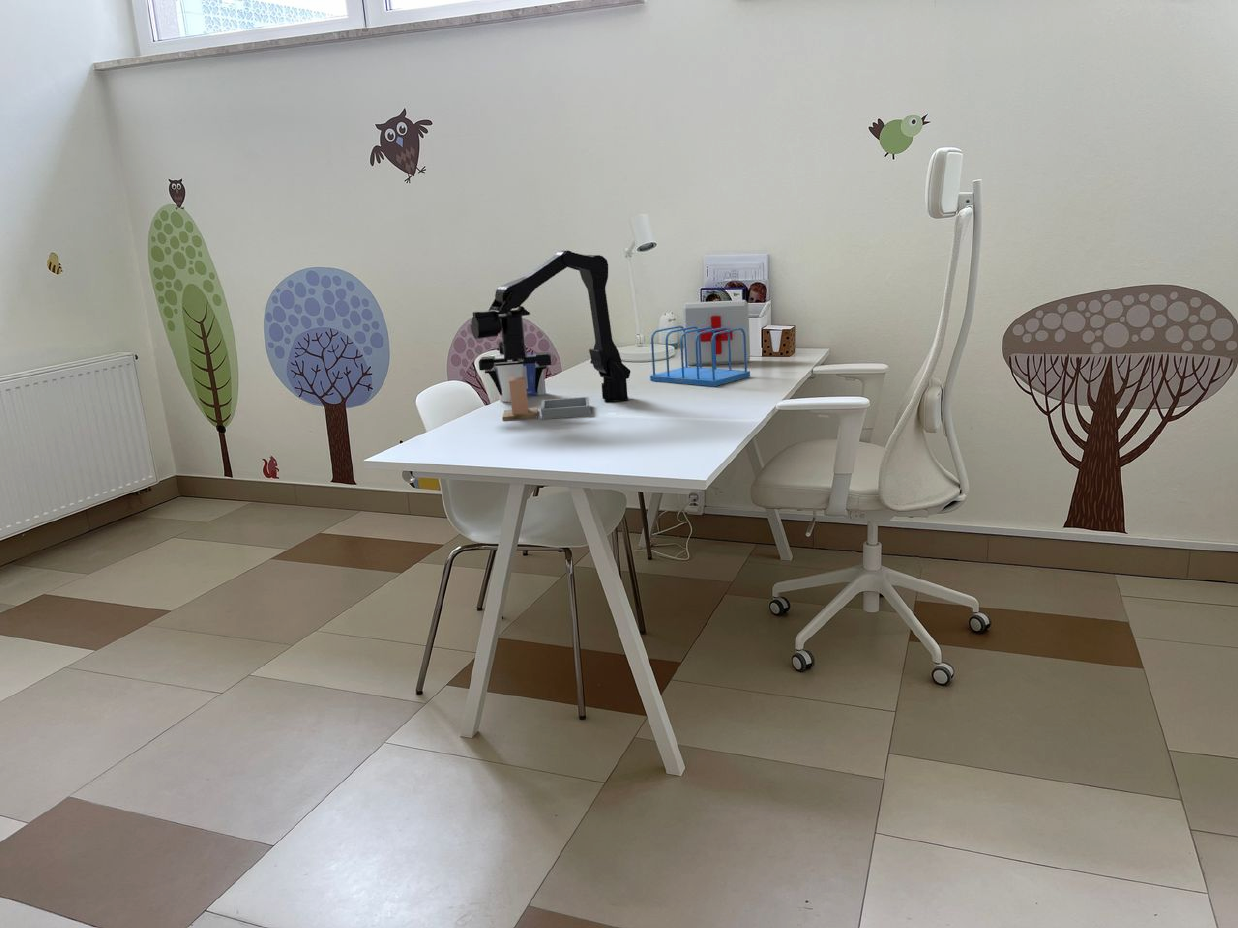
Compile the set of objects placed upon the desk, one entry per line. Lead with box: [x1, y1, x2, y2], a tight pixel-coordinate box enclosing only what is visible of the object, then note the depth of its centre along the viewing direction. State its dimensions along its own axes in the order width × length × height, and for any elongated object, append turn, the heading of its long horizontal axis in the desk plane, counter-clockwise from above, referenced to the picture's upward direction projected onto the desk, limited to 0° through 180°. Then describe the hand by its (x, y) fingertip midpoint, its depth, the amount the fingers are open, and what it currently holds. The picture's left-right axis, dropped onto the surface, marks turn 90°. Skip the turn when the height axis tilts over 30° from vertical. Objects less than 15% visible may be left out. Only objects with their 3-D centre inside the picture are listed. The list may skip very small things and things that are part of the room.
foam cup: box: [490, 353, 523, 403], centre depth 271 cm, size 10×9×13 cm
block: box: [509, 377, 529, 415], centre depth 248 cm, size 4×5×9 cm
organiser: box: [540, 396, 591, 420], centre depth 249 cm, size 13×13×2 cm
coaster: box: [502, 407, 539, 422], centre depth 249 cm, size 9×9×1 cm
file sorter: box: [649, 325, 751, 387], centre depth 282 cm, size 25×17×15 cm
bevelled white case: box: [681, 299, 751, 367], centre depth 306 cm, size 21×8×20 cm, turn 81°
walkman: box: [523, 354, 547, 397], centre depth 276 cm, size 8×3×12 cm, turn 85°
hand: (518, 393), depth 248 cm, fingers open, 9 cm apart
